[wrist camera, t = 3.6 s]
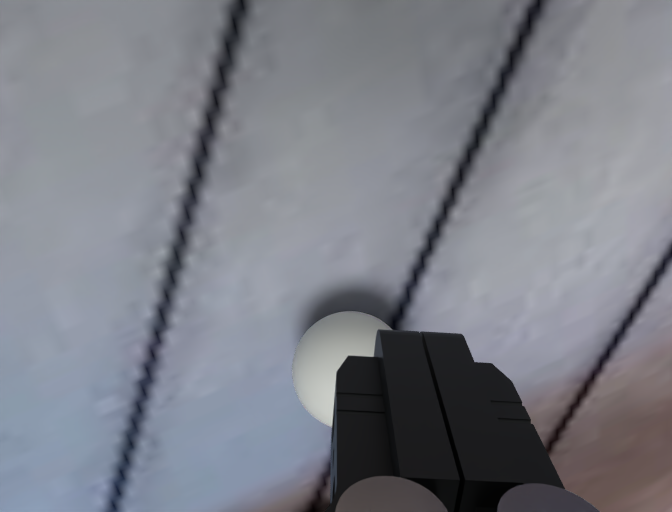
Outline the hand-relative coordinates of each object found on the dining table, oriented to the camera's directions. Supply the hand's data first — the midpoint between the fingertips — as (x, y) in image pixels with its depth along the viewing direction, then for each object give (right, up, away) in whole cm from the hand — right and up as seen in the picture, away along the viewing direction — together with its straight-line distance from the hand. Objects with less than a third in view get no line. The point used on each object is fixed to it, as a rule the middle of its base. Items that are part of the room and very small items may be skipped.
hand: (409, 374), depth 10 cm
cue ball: (-1, -3, +17) cm, 17 cm away
